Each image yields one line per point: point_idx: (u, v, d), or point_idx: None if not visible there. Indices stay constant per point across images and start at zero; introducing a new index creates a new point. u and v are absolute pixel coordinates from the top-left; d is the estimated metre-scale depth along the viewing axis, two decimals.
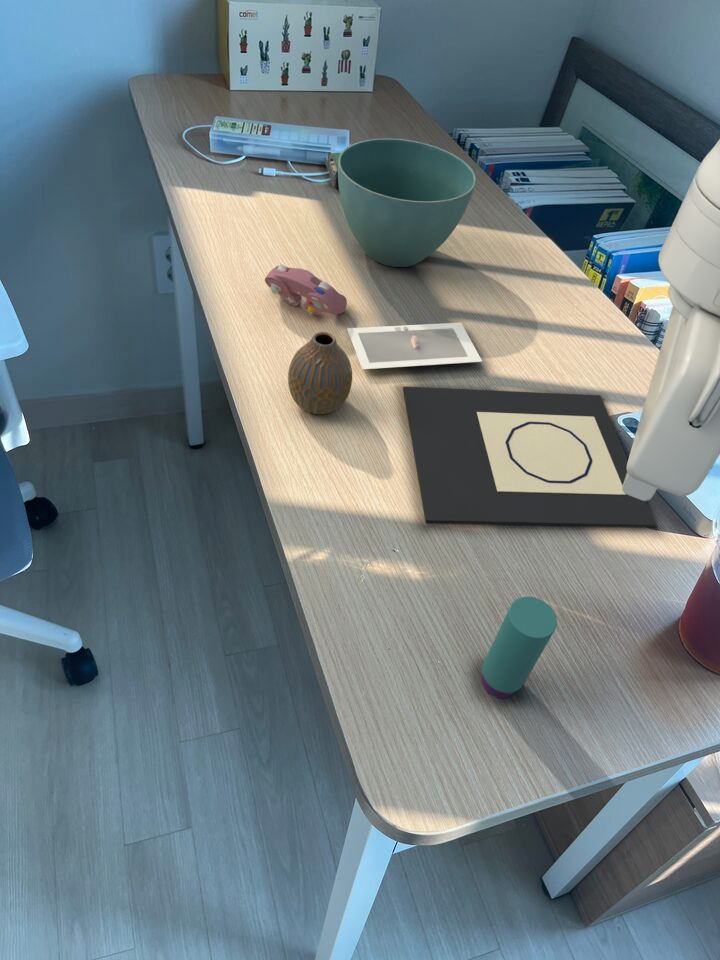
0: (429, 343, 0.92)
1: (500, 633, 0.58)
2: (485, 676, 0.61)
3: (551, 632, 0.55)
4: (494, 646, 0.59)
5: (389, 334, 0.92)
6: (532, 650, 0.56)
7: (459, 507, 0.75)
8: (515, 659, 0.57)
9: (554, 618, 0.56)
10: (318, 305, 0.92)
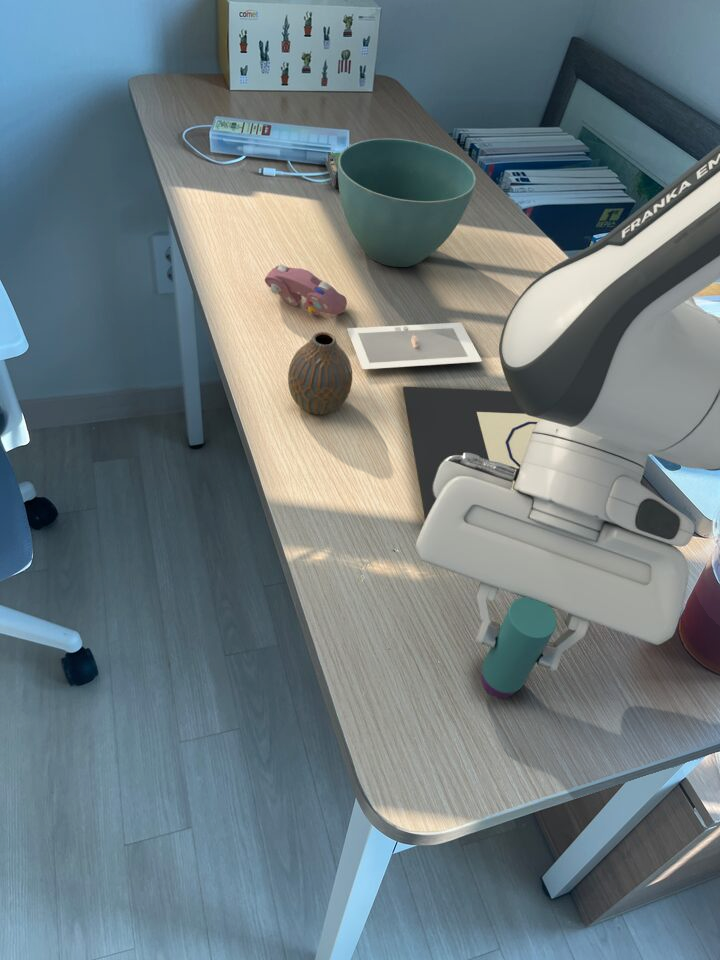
0: (429, 343, 0.92)
1: (500, 633, 0.58)
2: (485, 676, 0.61)
3: (551, 632, 0.55)
4: (494, 646, 0.59)
5: (389, 334, 0.92)
6: (532, 650, 0.56)
7: None
8: (515, 659, 0.57)
9: (554, 618, 0.56)
10: (318, 305, 0.92)
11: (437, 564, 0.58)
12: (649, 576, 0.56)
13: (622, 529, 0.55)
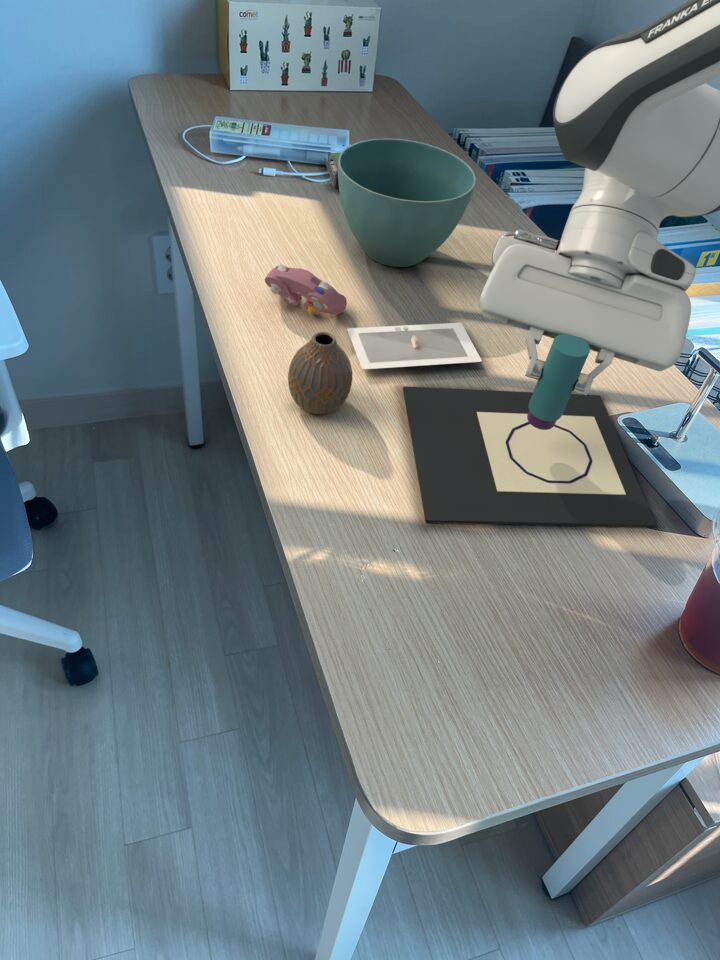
0: (429, 343, 0.92)
1: (545, 364, 0.75)
2: (531, 409, 0.78)
3: (586, 354, 0.72)
4: (540, 378, 0.76)
5: (389, 334, 0.92)
6: (571, 370, 0.73)
7: (459, 507, 0.75)
8: (557, 382, 0.74)
9: (588, 346, 0.73)
10: (318, 305, 0.92)
11: (497, 312, 0.75)
12: (660, 314, 0.73)
13: (640, 275, 0.72)
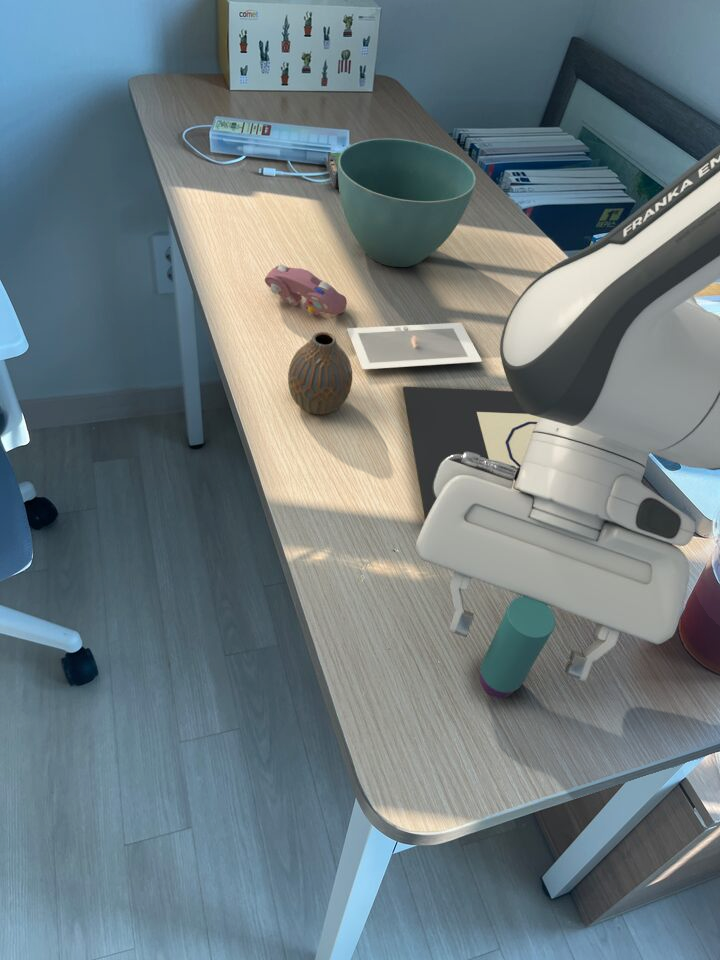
0: (429, 343, 0.92)
1: (498, 633, 0.58)
2: (483, 676, 0.61)
3: (549, 632, 0.55)
4: (492, 646, 0.59)
5: (389, 334, 0.92)
6: (531, 649, 0.56)
7: None
8: (513, 658, 0.57)
9: (552, 618, 0.56)
10: (318, 305, 0.92)
11: (437, 563, 0.58)
12: (649, 576, 0.56)
13: (623, 528, 0.55)
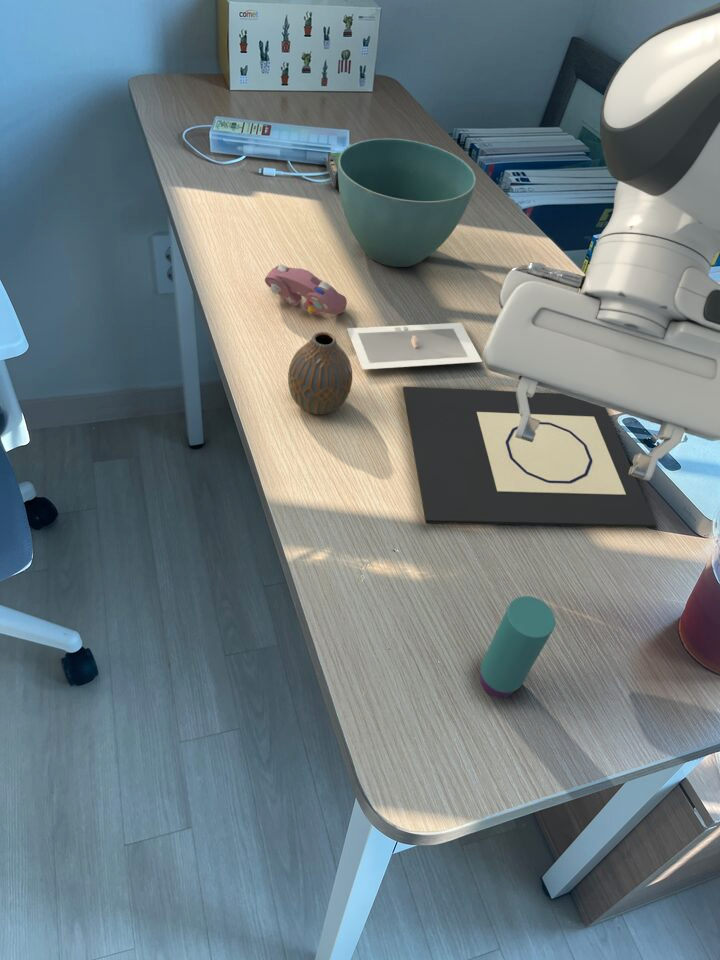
0: (429, 343, 0.92)
1: (498, 633, 0.58)
2: (483, 676, 0.61)
3: (549, 632, 0.55)
4: (492, 646, 0.59)
5: (389, 334, 0.92)
6: (531, 649, 0.56)
7: (459, 507, 0.75)
8: (513, 658, 0.57)
9: (552, 618, 0.56)
10: (318, 305, 0.92)
11: (505, 367, 0.60)
12: (714, 372, 0.57)
13: (689, 323, 0.57)
